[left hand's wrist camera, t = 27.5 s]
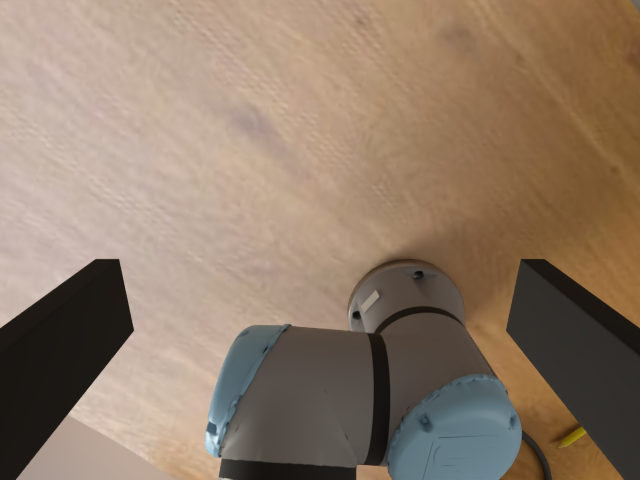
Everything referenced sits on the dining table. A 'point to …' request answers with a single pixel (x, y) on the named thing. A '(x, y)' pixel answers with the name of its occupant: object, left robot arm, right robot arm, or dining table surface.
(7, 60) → the dining table surface
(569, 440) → the pencil
